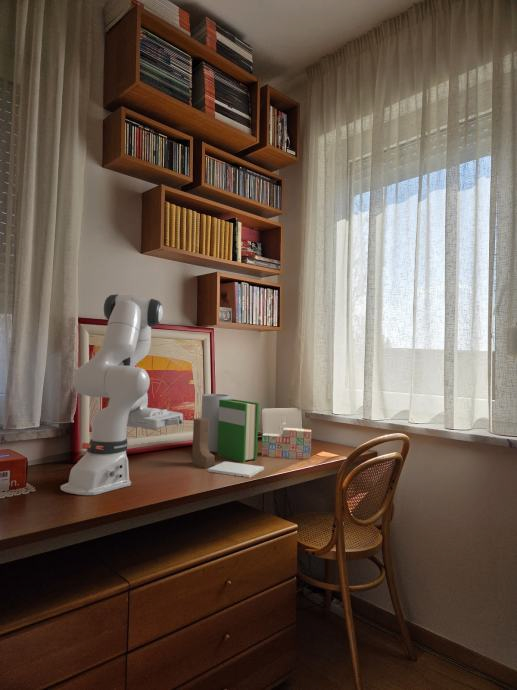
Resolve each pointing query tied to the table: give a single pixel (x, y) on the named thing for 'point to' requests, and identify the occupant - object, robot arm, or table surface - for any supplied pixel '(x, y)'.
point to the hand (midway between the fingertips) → (180, 421)
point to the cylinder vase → (212, 417)
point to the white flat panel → (236, 469)
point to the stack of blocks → (288, 444)
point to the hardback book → (238, 429)
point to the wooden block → (201, 444)
